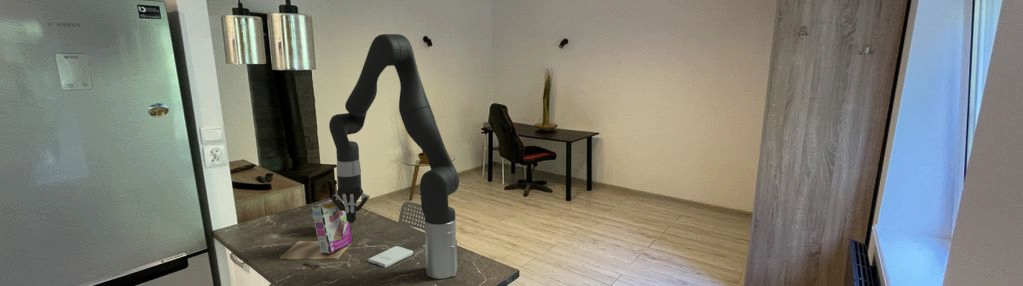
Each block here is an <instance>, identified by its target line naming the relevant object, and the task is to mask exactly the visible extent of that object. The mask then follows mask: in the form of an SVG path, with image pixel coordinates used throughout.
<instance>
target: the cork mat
mask: <svg viewBox="0 0 1023 286" xmlns="http://www.w3.org/2000/svg"><path fill="white" fill-rule="evenodd" d="M350 245H351V244H349V245H347V246H345V247H343V248H341V249H339V250H337V251H335V252H333V253H331V254H320V249H319V244H318V240H316V241H315V240H305V241H304V240H299V241H298V240H297V242H296V243H294V244H293V245H292V246H291V247H290V248H289V249H288V250H286V251H285V253H283V254H282V255H281V256H280V257H279V260H306V261H307V260H310V261H311V260H314V261H315V260H324V261H326V260H332V261H333V260H334V261H335V260H337V261H338V260H339V259H340V257H341V256H342V255H343V254H344V252H346V250H348V248H349V247H350Z"/></svg>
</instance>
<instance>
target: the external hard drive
mask: <svg viewBox="0 0 1023 286" xmlns="http://www.w3.org/2000/svg"><path fill="white" fill-rule="evenodd" d="M413 255H414V251H413V250H411V249H407V248H405V247H401V246H398V245H396V246H395V245H394V246H393V247H390V248H388V249H386V250H385V251H383V252H380V253H378V254H376V255H374V256H372V257H369V258H367V262H368V263H371V264H374V265H378V266H380V267H383V268H387V267H390V266H392V265H394V264H395V263H398V262H400V261H401V260H403V259H405V258H408V257H410V256H413Z"/></svg>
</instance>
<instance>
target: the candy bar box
mask: <svg viewBox="0 0 1023 286" xmlns="http://www.w3.org/2000/svg"><path fill="white" fill-rule="evenodd" d="M340 200H341V201H342V199H341V198H340ZM342 202H343V201H342ZM343 203H344V202H343ZM310 209H311V214H312V219H313V224H314V229H315V233H316V239H317V241H318V244H319V249H320V254H331V253H333V252H335V251H337V250H339V249H341V248H343V247H345V246H347V245H349V244H350V245H352V243H354V240H353V234H352V230H351V228H350V226H351V223H348V221H347V220H346V212H345V211H341V210H340V209H339V208H338V207H337V206H336V205H335V203H334V202H333V201H332V200H329V201H327V202H324V203H321V202H320V203H318V204H316V205H312V206H310Z"/></svg>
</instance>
